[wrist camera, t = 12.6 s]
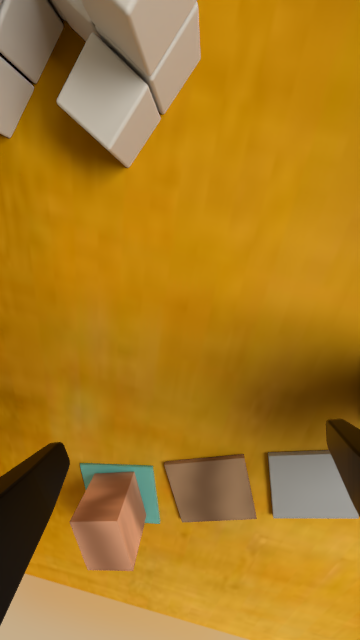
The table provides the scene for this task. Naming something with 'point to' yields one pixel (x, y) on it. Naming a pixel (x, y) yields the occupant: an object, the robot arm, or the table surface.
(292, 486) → the slate coaster
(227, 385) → the table surface
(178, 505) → the walnut coaster
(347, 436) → the robot arm
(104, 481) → the terracotta brick
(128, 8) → the puzzle cube
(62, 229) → the table surface
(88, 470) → the teal tile
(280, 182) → the table surface
